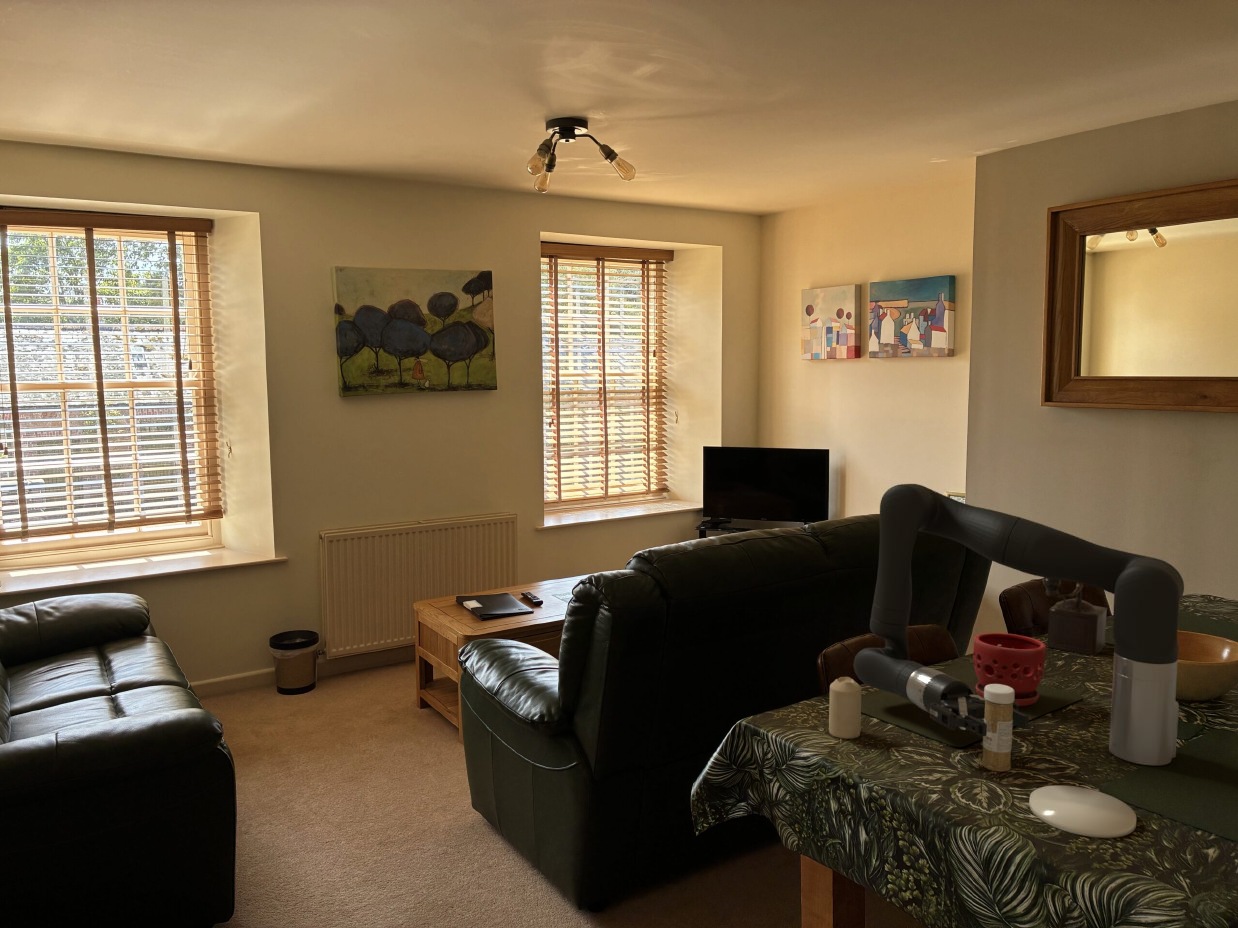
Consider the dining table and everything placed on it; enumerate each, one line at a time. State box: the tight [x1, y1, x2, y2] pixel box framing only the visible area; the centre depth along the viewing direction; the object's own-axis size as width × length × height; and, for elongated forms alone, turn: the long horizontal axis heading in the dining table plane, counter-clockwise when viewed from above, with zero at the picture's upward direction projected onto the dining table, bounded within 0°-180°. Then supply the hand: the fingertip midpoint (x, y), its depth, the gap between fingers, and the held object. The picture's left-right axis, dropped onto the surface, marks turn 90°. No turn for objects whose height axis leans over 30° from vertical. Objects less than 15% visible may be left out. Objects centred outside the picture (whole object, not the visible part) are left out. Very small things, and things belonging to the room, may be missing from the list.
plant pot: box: [972, 632, 1047, 707], centre depth 181 cm, size 13×13×12 cm
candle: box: [828, 676, 862, 740], centre depth 164 cm, size 6×6×10 cm
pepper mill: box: [1042, 577, 1108, 657], centre depth 212 cm, size 16×11×18 cm
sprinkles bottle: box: [981, 684, 1015, 772], centre depth 149 cm, size 5×5×14 cm
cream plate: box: [1028, 784, 1137, 839], centre depth 134 cm, size 14×14×1 cm
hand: (1006, 726), depth 148 cm, fingers open, 8 cm apart
